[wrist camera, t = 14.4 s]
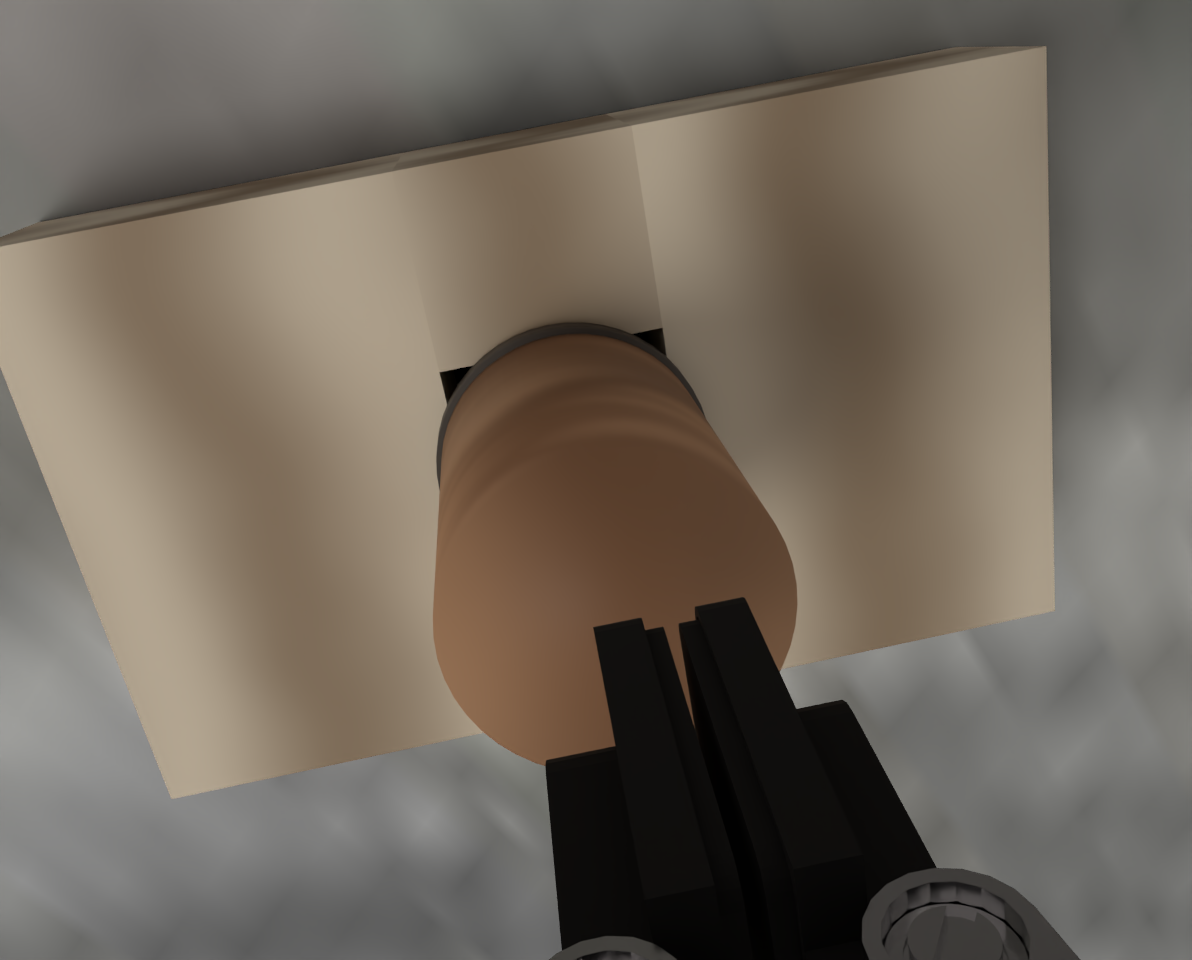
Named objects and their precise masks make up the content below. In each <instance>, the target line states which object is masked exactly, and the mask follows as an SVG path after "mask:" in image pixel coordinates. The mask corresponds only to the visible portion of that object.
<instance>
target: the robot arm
mask: <svg viewBox="0 0 1192 960" xmlns="http://www.w3.org/2000/svg"><path fill="white" fill-rule="evenodd" d="M593 629H594V635H595V640H596V645H597V651H598V656H599V661H600V667H601V672H602V677H603V682H604V688H605V693H606V698H607V704H608V709H609V714H610V719H611V725H612V730H613V735H614V741H615V746H613V747H608V748H603V749H598V750H593V751H588V752H584V753H579V754H574V755H569V756H564V757H559V758H554V759H549V760H546V779H547V790H548V801H549V812H550V823H551V834H552V845H553V856H554V867H555V878H556V889H557V900H558V911H559V922H560V933H561V944H562V951H560V952H558V953H556V954H555V955H554V956H553V957H552V958H550V959H549V960H1080V959H1079V958H1078V956H1077V955H1076V954H1075V953H1074V952H1073V951H1072V949H1071V948H1070V947H1069V946H1068V945H1067V944H1066V942H1065V941H1064V940H1063V939H1062V938H1061V936H1060V935H1059V934H1058V933H1057V932H1056V931H1055V929H1054V928H1053V927H1052V926H1051V925H1050V924H1049V922H1048V921H1047V920H1046V919H1045V918H1044V917H1043V915H1042V914H1041V913H1040V912H1039V911H1038V910H1037V908H1036V907H1035V906H1034V905H1033V904H1031V903H1030V902H1029V901H1028V900H1027V899H1026V898H1025V897H1023V896H1022V895H1021V894H1020V893H1019V892H1018V891H1017V890H1016V889H1014V888H1012V887H1010V886H1008V885H1006V884H1004V883H1002V882H1001V881H999V880H997V879H995V878H993V877H991V876H988V875H984V874H980V873H976V872H972V871H968V870H965V869H951V868H936V866H935V864H934V862H933V860H932V858H931V856H930V855H929V853H928V851H927V849H926V847H925V845H924V843H923V842H922V840H921V838H920V836H919V834H918V832H917V830H916V829H915V827H914V825H913V823H912V821H911V819H910V817H909V815H908V814H907V812H906V810H905V808H904V806H903V804H902V802H901V801H900V799H899V797H898V795H897V793H896V791H895V789H894V788H893V786H892V784H891V782H890V780H889V778H888V776H887V775H886V773H885V771H884V769H883V767H882V765H881V763H880V762H879V760H878V758H877V756H876V754H875V752H874V750H873V749H872V747H871V745H870V743H869V741H868V739H867V737H866V736H865V734H864V732H863V730H862V728H861V726H860V724H859V723H858V721H857V719H856V717H855V715H854V713H853V711H852V710H851V708H850V707H849V705H848V704H847V702H845V701H843V700H839V701H834V702H829V703H824V704H819V705H814V706H809V707H804V708H799V709H796V707H795V705H794V703H793V701H792V699H791V696H790V694H789V692H788V690H787V688H786V686H785V683H784V681H783V679H782V677H781V675H780V672H779V670H778V668H777V666H776V664H775V662H774V659H773V657H772V655H771V653H770V651H769V649H768V646H767V644H766V642H765V640H764V638H763V635H762V633H761V631H760V629H759V627H758V625H757V622H756V620H755V618H754V616H753V614H752V612H751V609H750V607H749V605H748V603H747V601H746V599H745V598H744V597H740V598H735V599H730V600H725V601H720V602H715V603H710V604H705V605H700V606H695V620H693V621H688V622H683V623H679V634H680V641H681V647H682V653H683V659H684V665H685V671H686V678H687V684H688V690H689V696H690V702H691V708H692V714H693V720H694V725H693V721H692V718H691V715H690V712H689V708H688V705H687V702H686V698H685V695H684V692H683V689H682V685H681V682H680V679H679V675H678V672H677V669H676V666H675V662H674V659H673V656H672V652H671V649H670V646H669V643H668V639H667V636H666V633H665V630H664V627H658V628H653V629H648V630H645V628H644V624H643V621H642V618H636V619H631V620H626V621H621V622H616V623H611V624H606V625H601V626H596V627H593ZM694 727H695V728H694Z"/></svg>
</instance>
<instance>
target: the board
mask: <svg viewBox="0 0 1192 960" xmlns="http://www.w3.org/2000/svg"><path fill="white" fill-rule="evenodd" d="M559 323H592V324H600V325H605V326H609V327H613V328H617V329H620V330H623V331H625V332H628V333H630V334H634V333H639V332H640V333H641V339H642V340H644V341H646V342H648V343H649V344H651V345H653V346H654V347H655V348H656V349H658V350H659V351H660V352H661V353H663V354H664V355H665V356H666V357H667V358H668V359H669V360H670V361H671V362H672V363H673V364H674V365H675V366H676V367H677V368H678V369H679V371H680V372H681V373H682V375H683V376H684V377H685V379H686V380H687V382H688V383H689V384H690V386H691V387H692V389H693V391H694V393H695V394H696V396H697V398H698V400H699V402H700V404H701V406H702V409H703V412H704V415H705V417H706V420H707V421H708V423H709V424H710V426H711V427H712V429H713V430H714V432H715V433H716V435H717V436H718V438H719V439H720V441H721V442H722V444H723V445H724V447H725V448H726V450H727V451H728V453H729V454H730V456H731V457H732V459H733V460H734V462H735V463H736V465H737V466H738V468H739V470H740V471H741V473H742V474H743V476H744V477H745V479H746V480H747V482H748V483H749V485H750V486H751V488H752V489H753V491H754V492H755V494H756V495H757V497H758V498H759V500H760V501H761V503H762V504H763V506H764V507H765V509H766V510H767V512H768V513H769V515H770V516H771V518H772V519H773V521H774V523H775V524H776V526H777V528H778V530H779V532H780V533H781V535H782V537H783V539H784V541H785V543H786V546H787V548H788V551H789V554H790V557H791V560H792V563H793V567H794V573H795V578H796V583H797V603H798V605H797V615H796V625H795V630H794V634H793V638H792V642H791V646H790V649H789V651H788V654H787V656H786V659H785V661H784V664H783V666H782V668H781V669H784V668H789V667H794V666H799V665H803V664H808V663H813V662H817V661H822V660H827V659H831V658H836V657H841V656H845V655H850V654H855V653H860V652H864V651H869V650H874V649H878V648H883V647H888V646H892V645H897V644H902V643H906V642H911V641H916V640H921V639H925V638H930V637H935V636H939V635H944V634H949V633H953V632H958V631H963V630H967V629H972V628H977V627H982V626H986V625H991V624H996V623H1000V622H1005V621H1010V620H1014V619H1019V618H1024V617H1028V616H1033V615H1038V614H1043V613H1047V612H1052V611H1055V594H1054V527H1053V461H1052V394H1051V327H1050V260H1049V194H1048V127H1047V60H1046V46H1007V47H953V48H948V49H943V50H938V51H932V52H927V53H922V54H917V55H912V56H906V57H901V58H896V59H891V60H885V61H880V62H875V63H870V64H864V65H859V66H854V67H849V68H844V69H838V70H833V71H828V72H823V73H817V74H812V75H807V76H802V77H796V78H791V79H786V80H781V81H776V82H770V83H765V84H760V85H755V86H749V87H744V88H739V89H734V90H728V91H723V92H718V93H713V94H707V95H702V96H697V97H692V98H687V99H681V100H676V101H671V102H666V103H660V104H655V105H650V106H645V107H639V108H634V109H629V110H624V111H619V112H613V113H608V114H603V115H598V116H592V117H587V118H582V119H577V120H571V121H566V122H561V123H556V124H551V125H545V126H540V127H535V128H530V129H524V130H519V131H514V132H509V133H503V134H498V135H493V136H488V137H483V138H477V139H472V140H467V141H462V142H456V143H451V144H446V145H441V146H435V147H430V148H425V149H420V150H414V151H409V152H404V153H399V154H394V155H388V156H383V157H378V158H373V159H367V160H362V161H357V162H352V163H346V164H341V165H336V166H331V167H326V168H320V169H315V170H310V171H305V172H299V173H294V174H289V175H284V176H278V177H273V178H268V179H263V180H258V181H252V182H247V183H242V184H237V185H231V186H226V187H221V188H216V189H210V190H205V191H200V192H195V193H190V194H184V195H179V196H174V197H169V198H163V199H158V200H153V201H148V202H142V203H137V204H132V205H127V206H121V207H116V208H111V209H106V210H101V211H95V212H90V213H85V214H80V215H74V216H69V217H64V218H59V219H53V220H48V221H43V222H38V223H35V224H33V225H30V226H28V227H25V228H23V229H20V230H18V231H15V232H13V233H10V234H8V235H5V236H3V237H0V367H1V370H2V372H3V375H4V377H5V380H6V383H7V385H8V388H9V390H10V393H11V395H12V398H13V400H14V403H15V405H16V408H17V410H18V413H19V415H20V418H21V420H22V423H23V425H24V428H25V430H26V433H27V436H28V438H29V441H30V443H31V446H32V448H33V451H34V453H35V456H36V458H37V461H38V463H39V466H40V468H41V471H42V473H43V476H44V478H45V481H46V483H47V486H48V489H49V491H50V494H51V496H52V499H53V501H54V504H55V506H56V509H57V511H58V514H59V516H60V519H61V521H62V524H63V526H64V529H65V531H66V534H67V536H68V539H69V541H70V544H71V547H72V549H73V552H74V554H75V557H76V559H77V562H78V564H79V567H80V569H81V572H82V574H83V577H84V579H85V582H86V584H87V587H88V589H89V592H90V594H91V597H92V600H93V602H94V605H95V607H96V610H97V612H98V615H99V617H100V620H101V622H102V625H103V627H104V630H105V632H106V635H107V637H108V640H109V642H110V645H111V647H112V650H113V653H114V655H115V658H116V660H117V663H118V665H119V668H120V670H121V673H122V675H123V678H124V680H125V683H126V685H127V688H128V690H129V693H130V695H131V698H132V700H133V703H134V705H135V708H136V711H137V713H138V716H139V718H140V721H141V723H142V726H143V728H144V731H145V733H146V736H147V738H148V741H149V743H150V746H151V748H152V751H153V753H154V756H155V758H156V761H157V764H158V766H159V769H160V771H161V774H162V776H163V779H164V781H165V784H166V786H167V789H168V791H169V794H170V796H171V799H175V798H179V797H184V796H189V795H193V794H198V793H203V792H207V791H212V790H217V789H222V788H226V787H231V786H236V785H240V784H245V783H250V782H254V781H259V780H264V779H268V778H273V777H278V776H282V775H287V774H292V773H297V772H301V771H306V770H311V769H315V768H320V767H325V766H329V765H334V764H339V763H343V762H348V761H353V760H358V759H362V758H367V757H372V756H376V755H381V754H386V753H390V752H395V751H400V750H404V749H409V748H414V747H419V746H423V745H428V744H433V743H437V742H442V741H447V740H451V739H456V738H461V737H465V736H470V735H475V734H480V733H484V732H483V731H481V730H480V729H479V727H478V726H477V725H476V724H475V723H474V722H473V721H472V720H471V719H470V718H469V717H468V716H467V715H466V714H465V712H464V711H463V710H462V708H461V707H460V705H459V704H458V703H457V701H456V700H455V698H454V697H453V695H452V693H451V691H450V689H449V687H448V685H447V683H446V681H445V680H444V677H443V674H442V671H441V668H440V665H439V662H438V660H437V655H436V649H435V644H434V639H433V602H434V584H435V566H436V548H437V530H438V512H439V494H440V490H439V484H438V479H437V464H436V454H437V443H438V434H439V429H440V425H441V421H442V417H443V414H444V412H445V409H446V407H447V404H448V402H449V399H450V398H451V396H452V394H453V392H454V391H455V389H456V387H457V382H456V378H455V374H454V369H458V368H463V367H468V366H473V365H475V364H476V363H477V362H478V361H479V360H480V359H481V358H482V357H483V356H484V355H485V354H487V353H488V352H489V351H491V350H492V349H493V348H495V347H496V346H497V345H499V344H501V343H503V342H505V341H506V340H508V339H510V338H512V337H513V336H516V335H518V334H521V333H523V332H526V331H528V330H531V329H535V328H538V327H542V326H546V325H551V324H559Z"/></svg>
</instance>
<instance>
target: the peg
mask: <svg viewBox="0 0 1192 960" xmlns="http://www.w3.org/2000/svg"><path fill="white" fill-rule="evenodd" d="M436 464H437V479H438V484H439V490H440V494H439V512H438V530H437V548H436V566H435V584H434V602H433V639H434V644H435V649H436V655H437V660H438V662H439V665H440V668H441V671H442V674H443V677H444V680H445V681H446V683H447V685H448V687H449V689H450V691H451V693H452V695H453V697H454V698H455V700H456V701H457V703H458V704H459V705H460V707H461V708H462V710H463V711H464V712H465V714H466V715H467V716H468V717H469V718H470V719H471V720H472V721H473V722H474V723H475V724H476V725H477V726H478V727H479V729H480V730H481V731H483V732H484V733H485V734H487V735H488V736H489V737H490V738H492V739H493V740H494V741H495V742H497V743H498V744H500V745H501V746H503V747H505V748H506V749H508V750H510V751H511V752H513V753H515V754H516V755H519V756H521V757H523V758H526V759H528V760H530V761H532V762H535V763H537V764H541V765H544V766H546V760H549V759H554V758H559V757H564V756H569V755H574V754H579V753H584V752H588V751H593V750H598V749H603V748H608V747H613V746H615V741H614V735H613V730H612V725H611V719H610V714H609V709H608V704H607V698H606V693H605V688H604V682H603V677H602V672H601V667H600V661H599V656H598V651H597V645H596V640H595V635H594V629H593V627H596V626H601V625H606V624H611V623H616V622H621V621H626V620H631V619H636V618H642V621H643V624H644V628H645V630H648V629H653V628H658V627H664V630H665V633H666V636H667V639H668V643H669V646H670V649H671V652H672V656H673V659H674V662H675V666H676V669H677V672H678V675H679V679H680V682H681V685H682V689H683V692H684V695H685V698H686V702H687V705H688V708H689V712H690V715H691V718H692V721H693V725H694V720H693V714H692V708H691V702H690V696H689V690H688V684H687V678H686V671H685V665H684V659H683V653H682V647H681V641H680V634H679V623H683V622H688V621H693V620H695V606H700V605H705V604H710V603H715V602H720V601H725V600H730V599H735V598H740V597H744V598H745V599H746V601H747V603H748V605H749V607H750V609H751V612H752V614H753V616H754V618H755V620H756V622H757V625H758V627H759V629H760V631H761V633H762V635H763V638H764V640H765V642H766V644H767V646H768V649H769V651H770V653H771V655H772V657H773V659H774V662H775V664H776V666H777V668H778V670H779V672H780V670H781V668H782V666H783V664H784V661H785V659H786V656H787V654H788V651H789V649H790V646H791V642H792V638H793V634H794V630H795V625H796V615H797V605H798V603H797V583H796V578H795V573H794V567H793V563H792V560H791V557H790V554H789V551H788V548H787V546H786V543H785V541H784V539H783V537H782V535H781V533H780V532H779V530H778V528H777V526H776V524H775V523H774V521H773V519H772V518H771V516H770V515H769V513H768V512H767V510H766V509H765V507H764V506H763V504H762V503H761V501H760V500H759V498H758V497H757V495H756V494H755V492H754V491H753V489H752V488H751V486H750V485H749V483H748V482H747V480H746V479H745V477H744V476H743V474H742V473H741V471H740V470H739V468H738V466H737V465H736V463H735V462H734V460H733V459H732V457H731V456H730V454H729V453H728V451H727V450H726V448H725V447H724V445H723V444H722V442H721V441H720V439H719V438H718V436H717V435H716V433H715V432H714V430H713V429H712V427H711V426H710V424H709V423H708V421H707V420H706V417H705V415H704V412H703V409H702V406H701V404H700V402H699V400H698V398H697V396H696V394H695V393H694V391H693V389H692V387H691V386H690V384H689V383H688V382H687V380H686V379H685V377H684V376H683V375H682V373H681V372H680V371H679V369H678V368H677V367H676V366H675V365H674V364H673V363H672V362H671V361H670V360H669V359H668V358H667V357H666V356H665V355H664V354H663V353H661V352H660V351H659V350H658V349H656V348H655V347H654V346H653V345H651V344H649V343H648V342H646V341H644V340H642V339H641V338H639V337H637V336H635V335H632V334H630V333H628V332H625V331H623V330H620V329H617V328H613V327H609V326H605V325H600V324H592V323H559V324H551V325H546V326H542V327H538V328H535V329H531V330H528V331H526V332H523V333H521V334H518V335H516V336H513V337H512V338H510V339H508V340H506V341H505V342H503V343H501V344H499V345H497V346H496V347H495V348H493V349H492V350H491V351H489V352H488V353H487V354H485V355H484V356H483V357H482V358H481V359H480V360H479V361H478V362H477V363H476V364H475V365H474V366H473V367H472V368H471V369H470V370H469V371H468V372H467V373H466V375H465V376H464V377H463V379H462V380H461V381H460V382H459V384H458V385H457V387H456V389H455V391H454V392H453V394H452V396H451V398H450V399H449V402H448V404H447V407H446V409H445V412H444V414H443V417H442V421H441V425H440V429H439V434H438V443H437V454H436ZM694 728H695V727H694Z"/></svg>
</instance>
